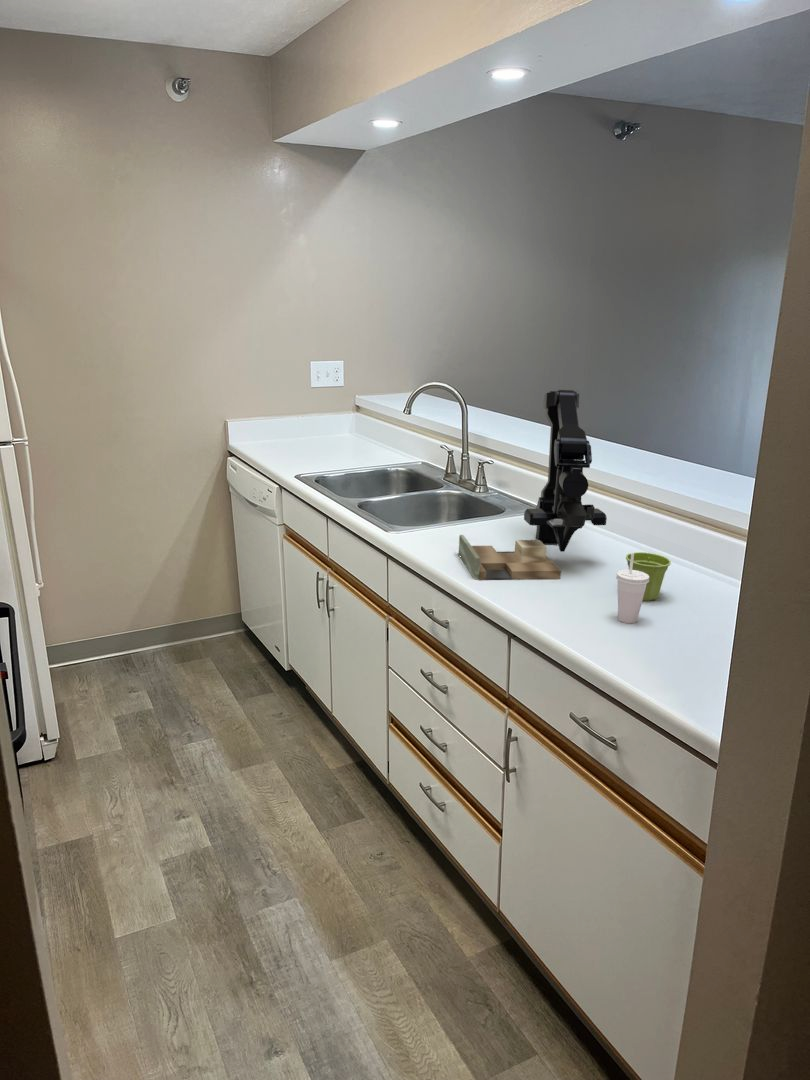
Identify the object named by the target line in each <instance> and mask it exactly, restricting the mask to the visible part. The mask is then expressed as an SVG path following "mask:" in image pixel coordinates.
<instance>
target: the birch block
mask: <svg viewBox="0 0 810 1080" xmlns="http://www.w3.org/2000/svg"><path fill="white" fill-rule="evenodd" d="M547 549H548V547H547V545H546V544H543V543H542V542H541V541H540V540H538V539H516V540H515V543H514V551H515V555H516V556H517V557H518V559H519V560H520V561H521V562H531V561H546V556H547V552H548V550H547Z"/></svg>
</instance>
